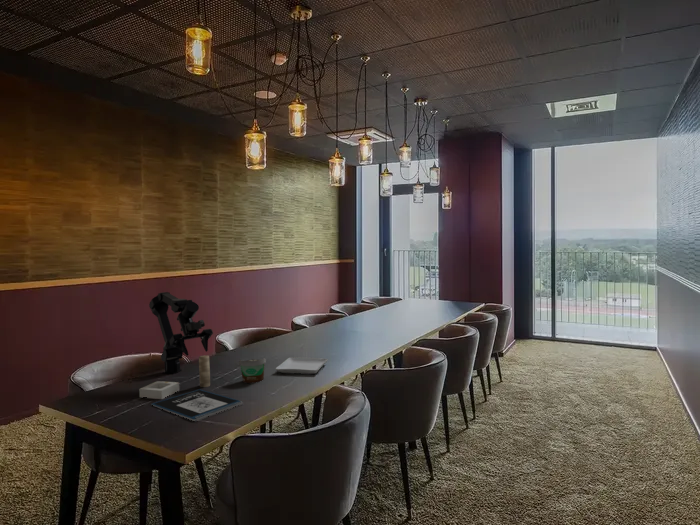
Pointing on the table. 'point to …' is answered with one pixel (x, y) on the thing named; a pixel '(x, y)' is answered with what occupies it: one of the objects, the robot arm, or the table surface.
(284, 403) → the table surface
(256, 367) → the food container
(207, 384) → the beige cylinder
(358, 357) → the table surface
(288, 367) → the salad plate
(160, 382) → the holder block
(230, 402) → the sketchbook
